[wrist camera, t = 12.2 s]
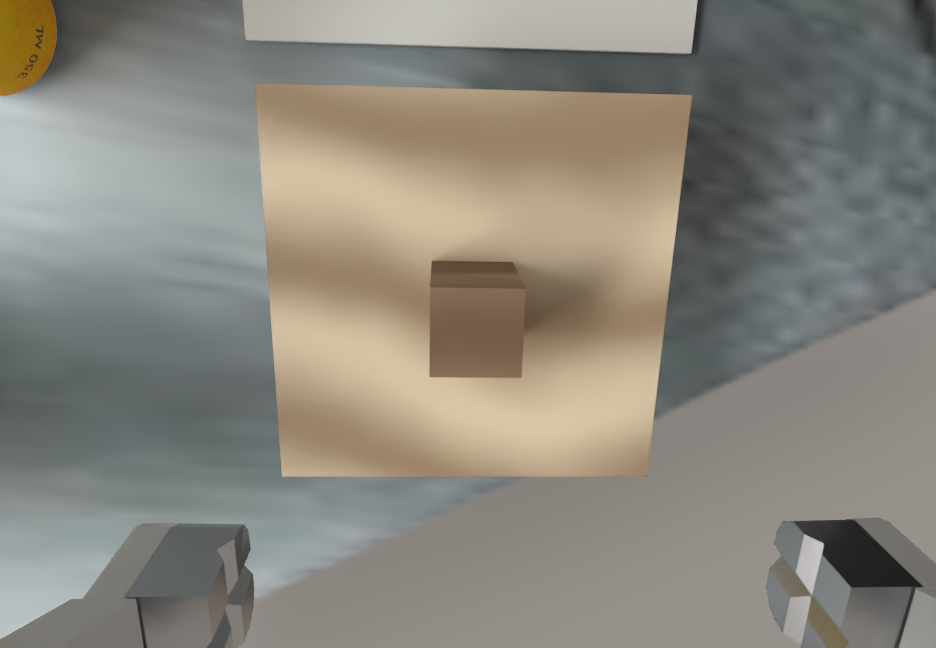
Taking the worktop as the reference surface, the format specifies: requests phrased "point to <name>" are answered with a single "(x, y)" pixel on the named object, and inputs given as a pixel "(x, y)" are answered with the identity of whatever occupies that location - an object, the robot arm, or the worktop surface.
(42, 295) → the worktop surface
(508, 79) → the worktop surface
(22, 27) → the beer can
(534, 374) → the lid
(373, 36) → the mat
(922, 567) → the robot arm
